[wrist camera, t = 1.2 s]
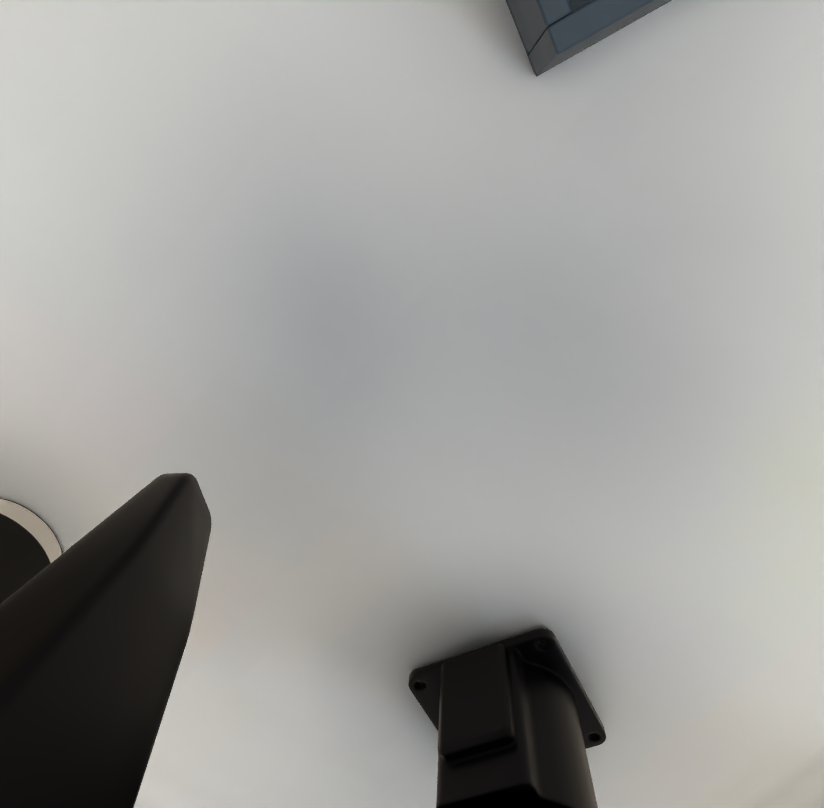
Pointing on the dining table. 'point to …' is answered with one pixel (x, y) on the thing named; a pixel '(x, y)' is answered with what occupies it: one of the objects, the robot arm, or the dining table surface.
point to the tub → (571, 25)
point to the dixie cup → (23, 547)
